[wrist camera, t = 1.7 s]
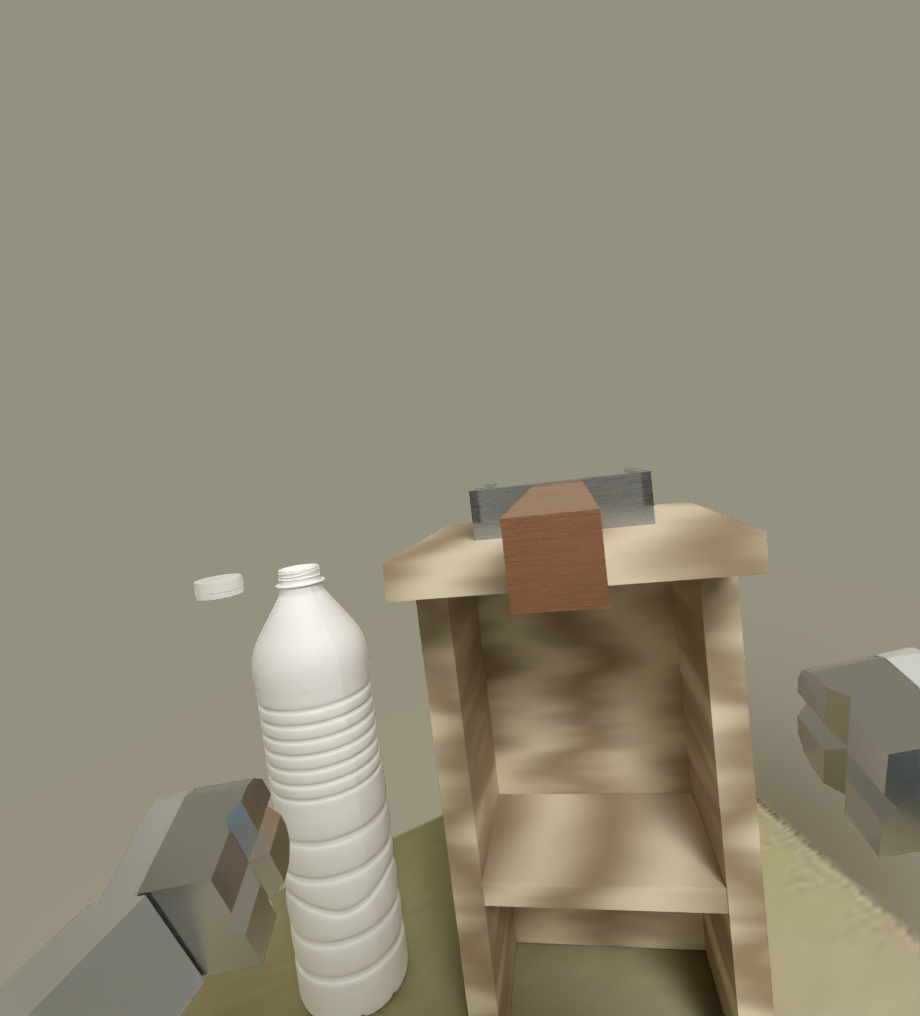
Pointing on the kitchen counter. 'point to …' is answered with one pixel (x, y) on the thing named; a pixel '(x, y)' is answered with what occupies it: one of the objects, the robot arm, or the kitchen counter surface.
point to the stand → (597, 753)
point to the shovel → (560, 535)
